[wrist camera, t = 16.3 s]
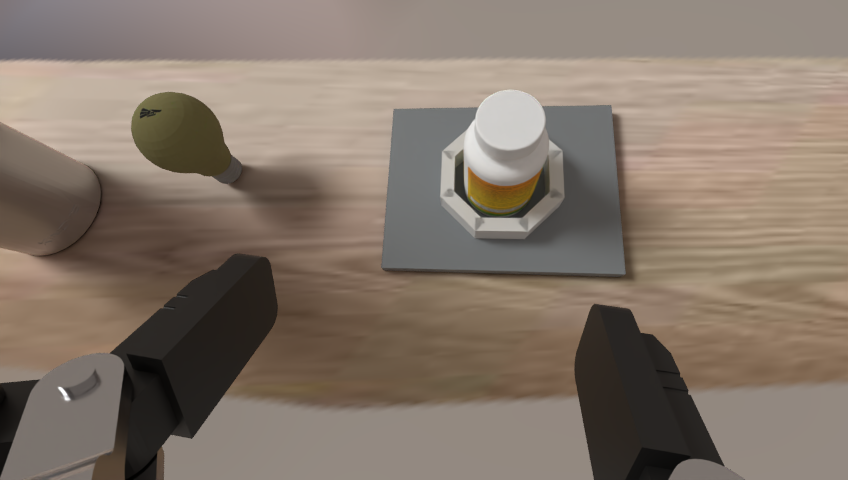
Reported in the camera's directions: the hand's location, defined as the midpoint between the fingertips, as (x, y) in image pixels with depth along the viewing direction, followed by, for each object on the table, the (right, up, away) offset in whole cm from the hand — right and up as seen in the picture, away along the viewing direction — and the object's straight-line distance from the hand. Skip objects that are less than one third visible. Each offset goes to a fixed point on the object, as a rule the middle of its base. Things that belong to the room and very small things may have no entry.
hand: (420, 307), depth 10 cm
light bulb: (-17, +7, +26) cm, 32 cm away
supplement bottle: (+6, +6, +22) cm, 24 cm away
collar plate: (+6, +6, +23) cm, 25 cm away
